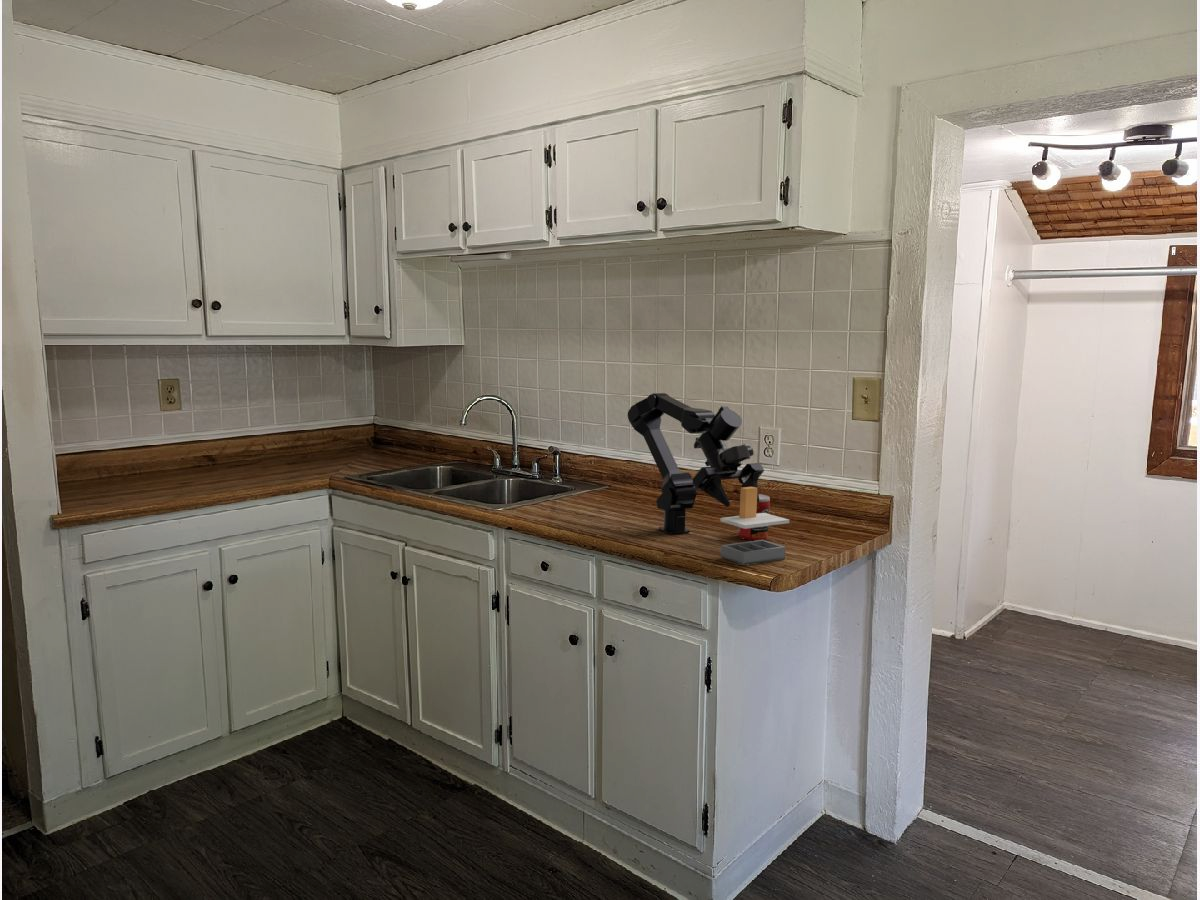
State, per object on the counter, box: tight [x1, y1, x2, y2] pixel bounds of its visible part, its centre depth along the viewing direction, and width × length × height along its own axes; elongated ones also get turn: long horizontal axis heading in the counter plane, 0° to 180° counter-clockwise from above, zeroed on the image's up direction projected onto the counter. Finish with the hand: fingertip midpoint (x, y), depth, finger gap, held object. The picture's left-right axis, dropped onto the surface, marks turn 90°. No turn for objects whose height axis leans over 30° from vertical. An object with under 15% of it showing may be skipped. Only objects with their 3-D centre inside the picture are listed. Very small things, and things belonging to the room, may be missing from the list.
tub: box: [720, 540, 786, 566], centre depth 203 cm, size 8×13×3 cm, turn 122°
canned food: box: [737, 493, 771, 541], centre depth 224 cm, size 8×8×11 cm
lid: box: [720, 487, 790, 529], centre depth 202 cm, size 9×14×8 cm, turn 122°
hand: (743, 504), depth 205 cm, fingers open, 9 cm apart
